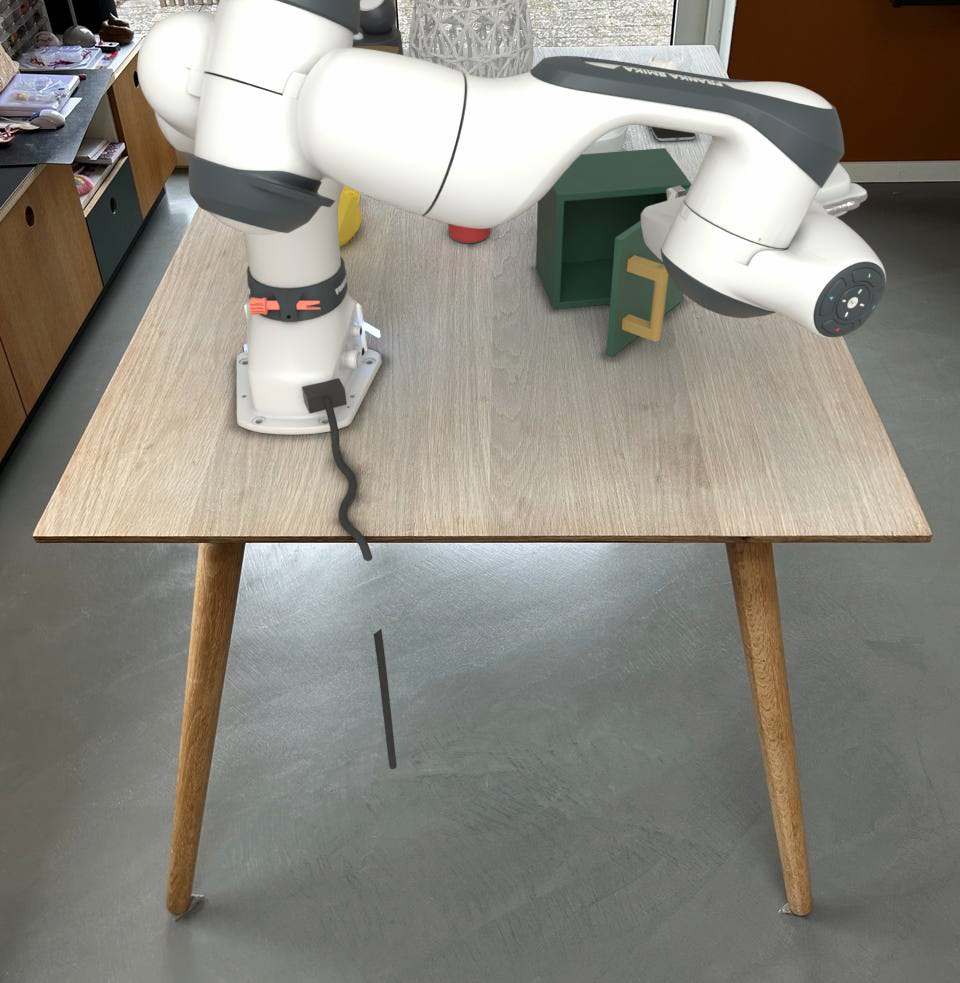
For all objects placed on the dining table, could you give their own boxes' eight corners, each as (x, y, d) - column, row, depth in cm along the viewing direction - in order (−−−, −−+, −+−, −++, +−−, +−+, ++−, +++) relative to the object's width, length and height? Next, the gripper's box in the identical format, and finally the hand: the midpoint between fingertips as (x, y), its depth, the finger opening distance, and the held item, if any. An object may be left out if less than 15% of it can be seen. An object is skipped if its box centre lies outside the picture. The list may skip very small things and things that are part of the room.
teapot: (235, 236, 164) (221, 158, 155) (326, 197, 174) (318, 121, 166) (318, 278, 153) (308, 196, 145) (410, 234, 163) (405, 155, 155)
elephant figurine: (634, 88, 211) (637, 58, 207) (660, 78, 215) (663, 48, 211) (660, 97, 207) (663, 66, 203) (686, 86, 211) (689, 56, 207)
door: (715, 312, 144) (733, 199, 133) (647, 371, 134) (660, 252, 123) (675, 298, 147) (689, 186, 136) (605, 354, 137) (615, 237, 126)
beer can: (486, 246, 160) (485, 171, 152) (444, 243, 161) (441, 168, 153) (494, 227, 165) (494, 153, 157) (453, 224, 166) (451, 150, 158)
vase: (476, 66, 222) (473, -93, 202) (557, 96, 208) (563, -72, 188) (386, 95, 209) (375, -71, 190) (467, 129, 196) (463, -47, 176)
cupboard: (677, 298, 148) (691, 183, 137) (552, 309, 146) (557, 194, 135) (653, 257, 157) (665, 147, 146) (535, 268, 155) (538, 157, 144)
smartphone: (657, 138, 189) (640, 107, 201) (656, 141, 190) (640, 110, 201) (696, 136, 190) (677, 105, 201) (696, 140, 190) (677, 109, 201)
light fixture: (316, -2, 206) (370, -17, 214) (324, 80, 216) (376, 63, 224) (361, 11, 199) (415, -5, 207) (367, 96, 209) (419, 77, 217)
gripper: (876, 167, 97) (809, 123, 108) (666, 229, 96) (620, 179, 107) (875, 230, 100) (810, 181, 111) (673, 290, 100) (628, 235, 111)
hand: (716, 180), depth 109 cm, fingers open, 8 cm apart
